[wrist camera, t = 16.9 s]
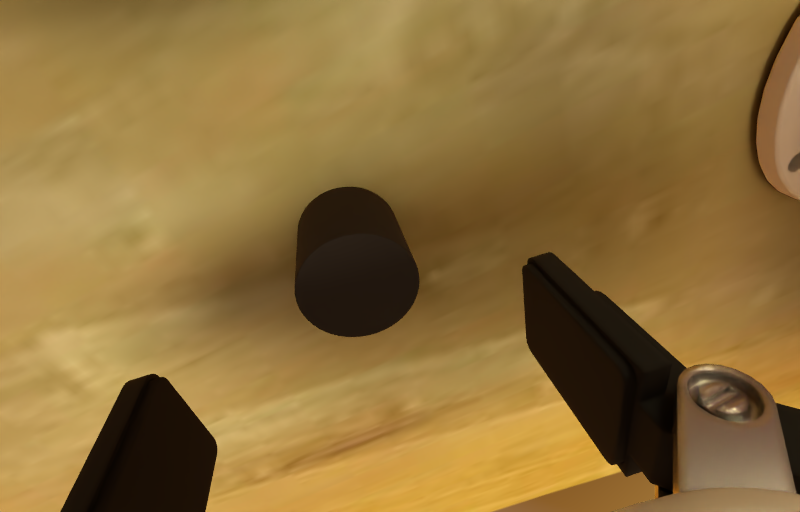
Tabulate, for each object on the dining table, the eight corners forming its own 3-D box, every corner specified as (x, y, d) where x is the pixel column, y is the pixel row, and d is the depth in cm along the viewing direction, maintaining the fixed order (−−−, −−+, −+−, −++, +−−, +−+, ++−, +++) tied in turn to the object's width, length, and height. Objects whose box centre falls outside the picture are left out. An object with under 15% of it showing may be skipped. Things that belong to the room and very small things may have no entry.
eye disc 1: (408, 196, 16) (435, 244, 12) (383, 280, 18) (401, 341, 14) (306, 177, 15) (305, 224, 11) (291, 269, 16) (286, 333, 13)
